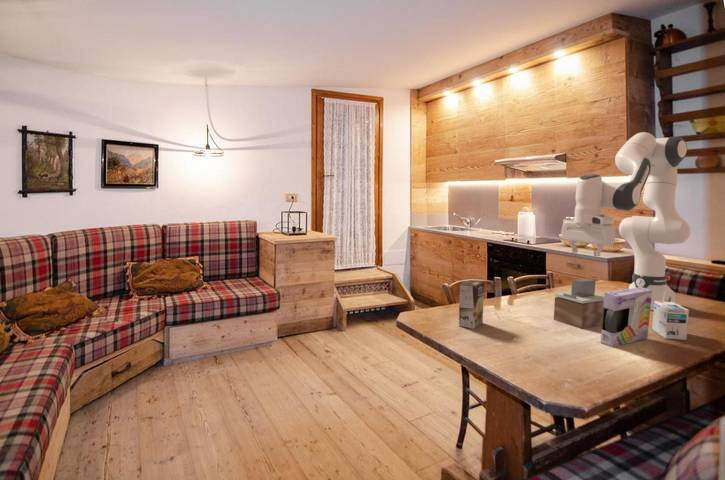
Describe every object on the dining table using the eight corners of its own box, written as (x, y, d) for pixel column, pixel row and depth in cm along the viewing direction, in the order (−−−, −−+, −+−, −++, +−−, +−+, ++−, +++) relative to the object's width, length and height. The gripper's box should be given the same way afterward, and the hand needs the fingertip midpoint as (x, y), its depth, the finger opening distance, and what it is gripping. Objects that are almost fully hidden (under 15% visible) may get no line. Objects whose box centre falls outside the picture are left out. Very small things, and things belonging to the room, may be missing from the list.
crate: (580, 314, 176) (582, 292, 175) (608, 322, 166) (610, 299, 164) (553, 319, 169) (554, 297, 168) (581, 328, 158) (582, 304, 157)
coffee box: (474, 329, 158) (476, 286, 156) (458, 326, 161) (459, 284, 159) (483, 322, 165) (484, 281, 163) (467, 319, 169) (468, 279, 167)
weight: (584, 293, 170) (586, 278, 169) (594, 295, 166) (595, 280, 165) (571, 295, 166) (572, 279, 165) (580, 297, 163) (581, 281, 162)
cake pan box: (610, 348, 139) (614, 295, 137) (596, 343, 144) (600, 291, 142) (649, 339, 147) (653, 289, 145) (635, 335, 152) (639, 286, 149)
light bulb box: (687, 340, 146) (690, 309, 145) (665, 339, 148) (667, 308, 146) (671, 330, 157) (674, 301, 155) (650, 329, 158) (653, 300, 157)
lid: (582, 292, 175) (582, 288, 175) (610, 299, 164) (611, 294, 164) (555, 296, 168) (555, 291, 168) (582, 303, 157) (583, 298, 157)
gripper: (558, 216, 170) (556, 251, 172) (607, 220, 152) (605, 258, 154) (569, 215, 173) (567, 249, 175) (618, 219, 155) (616, 257, 157)
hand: (585, 254), depth 164 cm, fingers open, 8 cm apart
